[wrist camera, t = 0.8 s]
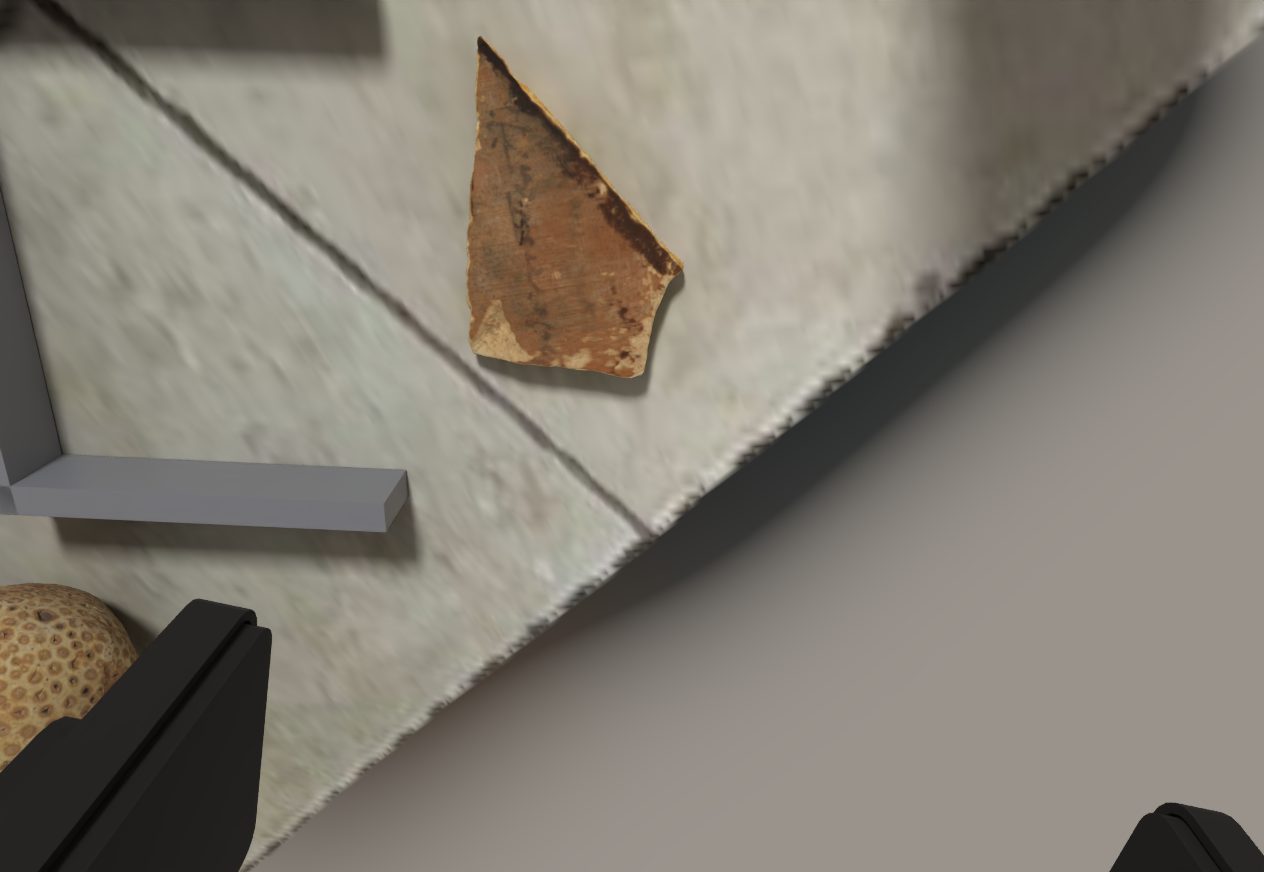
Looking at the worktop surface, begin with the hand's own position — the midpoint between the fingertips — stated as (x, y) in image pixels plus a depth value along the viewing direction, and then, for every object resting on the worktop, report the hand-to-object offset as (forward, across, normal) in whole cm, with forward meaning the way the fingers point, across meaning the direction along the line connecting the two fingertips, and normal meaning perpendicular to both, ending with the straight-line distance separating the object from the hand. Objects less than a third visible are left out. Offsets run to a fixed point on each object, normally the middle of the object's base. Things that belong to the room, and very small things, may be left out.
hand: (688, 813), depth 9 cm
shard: (+25, +5, 0) cm, 26 cm away
